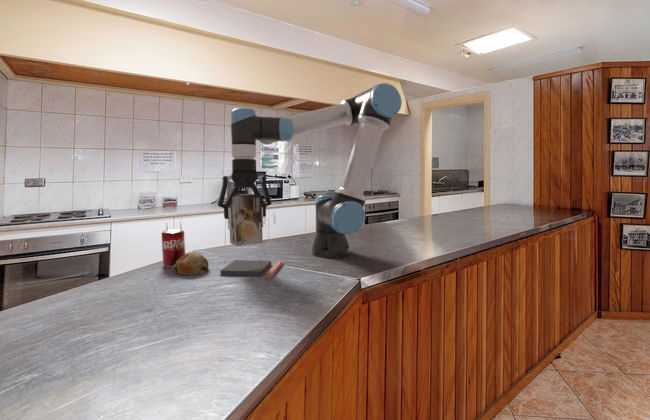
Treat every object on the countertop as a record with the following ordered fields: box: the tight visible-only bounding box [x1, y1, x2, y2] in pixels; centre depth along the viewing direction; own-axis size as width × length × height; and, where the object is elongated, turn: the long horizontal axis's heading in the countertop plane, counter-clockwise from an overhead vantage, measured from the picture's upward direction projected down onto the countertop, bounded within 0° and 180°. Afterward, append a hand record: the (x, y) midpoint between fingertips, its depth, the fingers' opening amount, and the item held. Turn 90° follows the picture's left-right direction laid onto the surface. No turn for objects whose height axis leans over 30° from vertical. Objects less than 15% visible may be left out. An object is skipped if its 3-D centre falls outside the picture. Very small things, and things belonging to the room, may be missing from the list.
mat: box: [220, 259, 272, 277], centre depth 117 cm, size 13×13×2 cm
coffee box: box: [227, 193, 264, 247], centre depth 115 cm, size 9×6×16 cm
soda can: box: [160, 229, 186, 268], centre depth 123 cm, size 7×7×12 cm
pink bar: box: [265, 260, 283, 279], centre depth 116 cm, size 2×16×1 cm, turn 175°
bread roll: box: [173, 252, 210, 276], centre depth 115 cm, size 10×10×8 cm
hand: (245, 227), depth 115 cm, fingers closed on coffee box, 10 cm apart
